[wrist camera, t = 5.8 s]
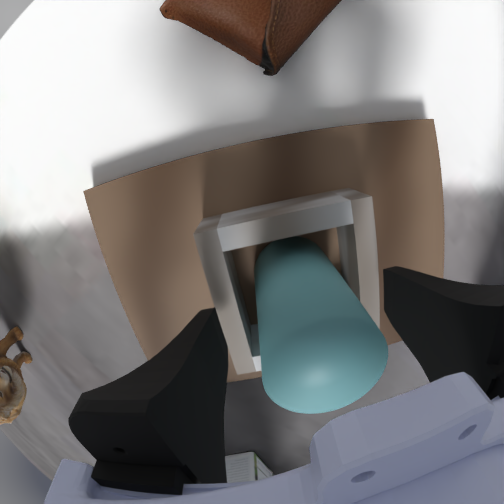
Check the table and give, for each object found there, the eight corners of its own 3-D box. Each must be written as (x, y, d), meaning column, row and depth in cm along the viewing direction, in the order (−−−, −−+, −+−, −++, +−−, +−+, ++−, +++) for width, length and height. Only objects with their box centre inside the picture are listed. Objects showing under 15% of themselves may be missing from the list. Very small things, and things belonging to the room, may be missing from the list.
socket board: (422, 120, 14) (465, 116, 10) (430, 318, 19) (459, 349, 15) (93, 188, 15) (53, 200, 11) (166, 378, 20) (154, 420, 16)
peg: (323, 230, 15) (392, 302, 8) (330, 297, 16) (382, 397, 9) (247, 243, 15) (251, 331, 8) (260, 310, 17) (271, 422, 9)
